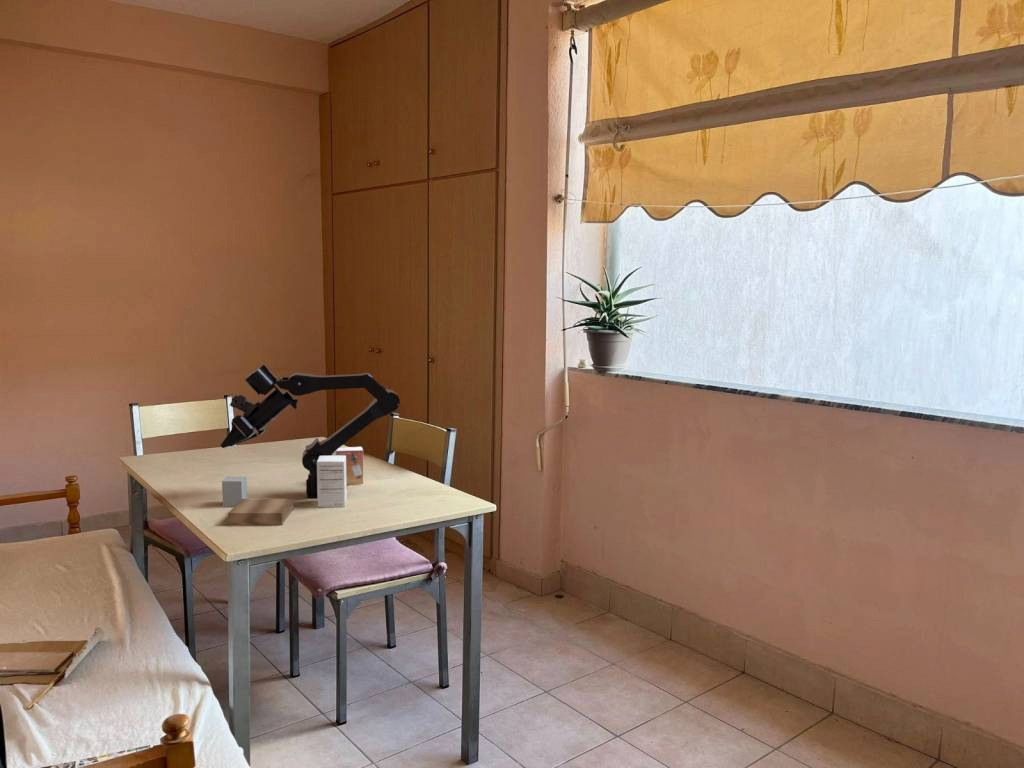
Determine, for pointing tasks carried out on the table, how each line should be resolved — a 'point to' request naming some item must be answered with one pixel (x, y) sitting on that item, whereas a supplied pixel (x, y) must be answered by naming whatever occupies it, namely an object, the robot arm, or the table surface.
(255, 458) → the table surface
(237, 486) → the grey block
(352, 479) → the small box
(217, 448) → the table surface
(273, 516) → the walnut base
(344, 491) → the supplement box
